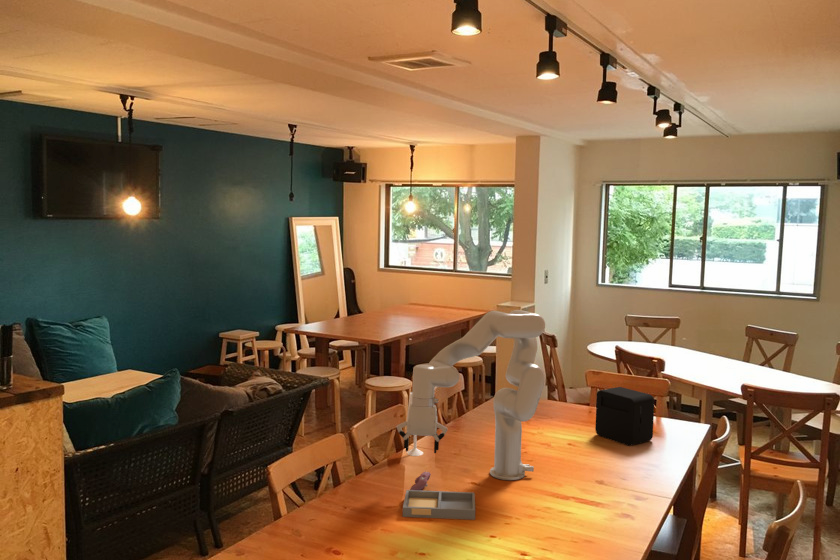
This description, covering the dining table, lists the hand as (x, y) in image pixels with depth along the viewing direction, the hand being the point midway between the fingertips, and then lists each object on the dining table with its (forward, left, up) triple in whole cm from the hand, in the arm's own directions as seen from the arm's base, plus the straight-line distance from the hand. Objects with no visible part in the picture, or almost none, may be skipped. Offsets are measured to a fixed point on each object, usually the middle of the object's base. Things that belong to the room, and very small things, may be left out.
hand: (421, 451), depth 240 cm
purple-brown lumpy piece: (0, 0, -14) cm, 14 cm away
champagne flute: (+4, -37, -14) cm, 40 cm away
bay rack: (-7, +16, -13) cm, 22 cm away
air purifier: (-84, -66, -14) cm, 107 cm away
